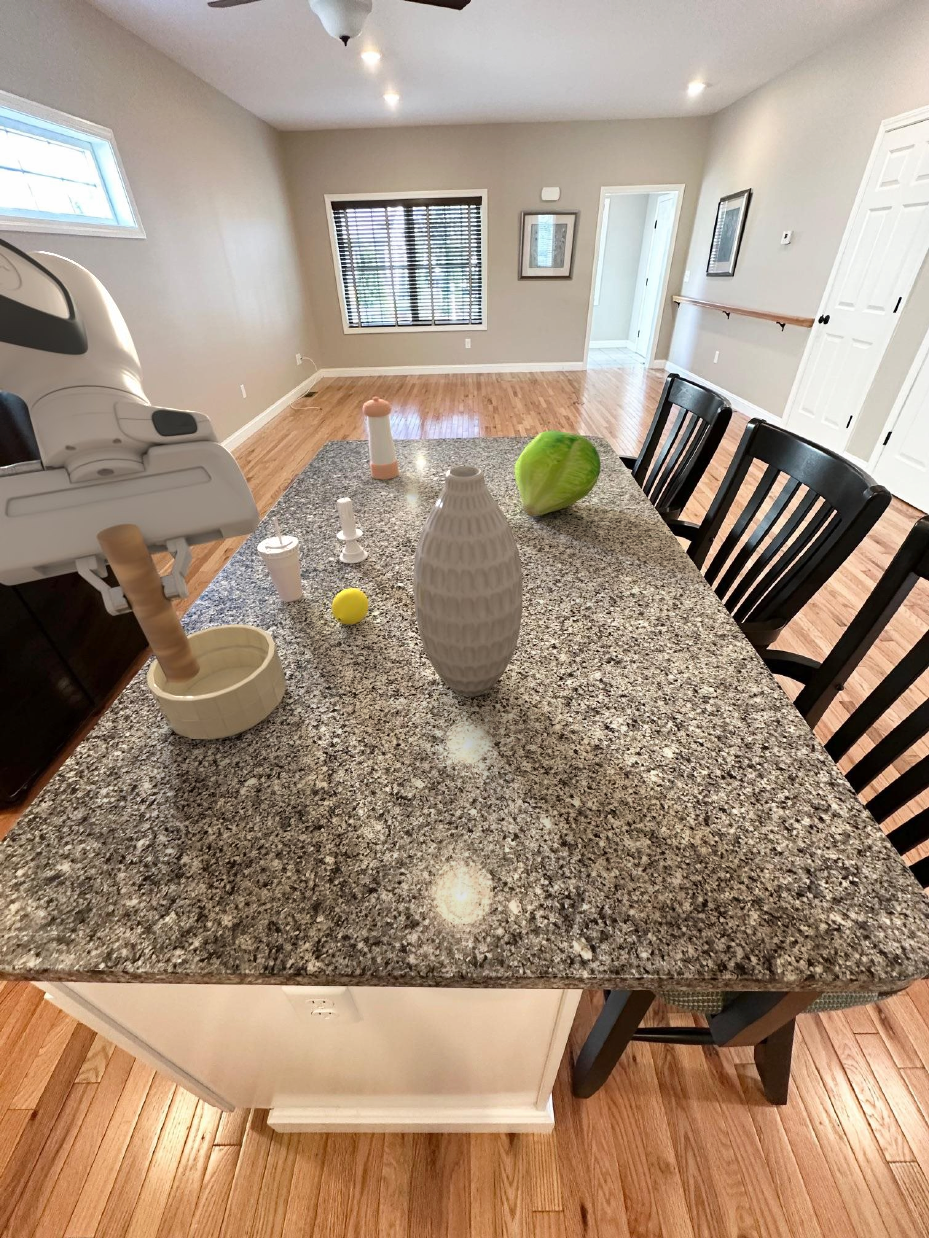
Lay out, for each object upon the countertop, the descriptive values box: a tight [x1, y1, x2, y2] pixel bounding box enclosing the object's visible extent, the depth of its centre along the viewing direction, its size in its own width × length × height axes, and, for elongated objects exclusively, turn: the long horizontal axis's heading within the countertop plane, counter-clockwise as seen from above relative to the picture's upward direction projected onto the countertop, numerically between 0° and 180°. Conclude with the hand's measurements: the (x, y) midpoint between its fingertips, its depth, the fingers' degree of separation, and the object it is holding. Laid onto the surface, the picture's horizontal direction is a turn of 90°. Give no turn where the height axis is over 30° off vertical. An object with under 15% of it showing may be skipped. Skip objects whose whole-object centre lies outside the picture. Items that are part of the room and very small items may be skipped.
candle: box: [336, 497, 369, 564], centre depth 94 cm, size 5×5×12 cm
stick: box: [97, 524, 200, 683], centre depth 42 cm, size 3×3×14 cm
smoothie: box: [256, 517, 303, 603], centre depth 83 cm, size 6×6×14 cm
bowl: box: [146, 623, 287, 740], centre depth 64 cm, size 14×14×7 cm
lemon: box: [331, 587, 370, 626], centre depth 78 cm, size 7×5×5 cm
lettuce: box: [514, 429, 602, 517], centre depth 110 cm, size 17×20×17 cm
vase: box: [412, 465, 524, 697], centre depth 60 cm, size 13×13×28 cm
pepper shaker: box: [362, 396, 400, 480], centre depth 130 cm, size 7×7×19 cm
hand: (150, 604), depth 41 cm, fingers closed on stick, 3 cm apart
